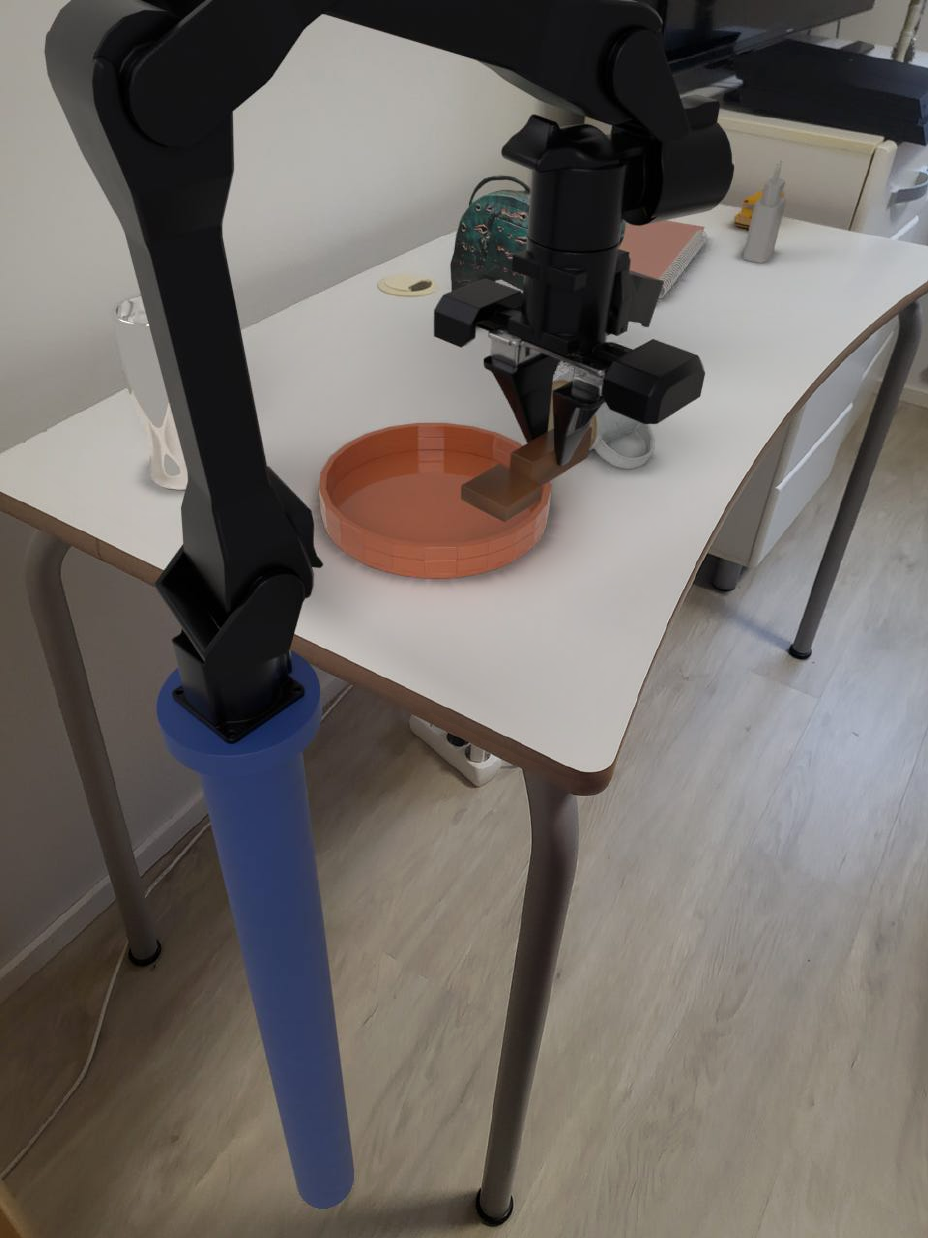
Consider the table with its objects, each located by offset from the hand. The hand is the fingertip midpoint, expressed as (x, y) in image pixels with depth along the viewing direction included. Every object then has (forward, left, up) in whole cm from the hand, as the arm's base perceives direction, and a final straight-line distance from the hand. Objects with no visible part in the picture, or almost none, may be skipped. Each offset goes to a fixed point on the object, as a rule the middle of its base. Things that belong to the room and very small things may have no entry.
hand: (550, 457), depth 68 cm
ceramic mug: (+19, +7, -10) cm, 23 cm away
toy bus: (+90, +29, -10) cm, 95 cm away
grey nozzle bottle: (+77, +21, -10) cm, 81 cm away
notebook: (+62, +33, -10) cm, 71 cm away
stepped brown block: (-2, 0, -1) cm, 2 cm away
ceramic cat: (+32, +27, -10) cm, 44 cm away
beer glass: (-11, +31, -10) cm, 35 cm away
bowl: (0, +11, -10) cm, 15 cm away
